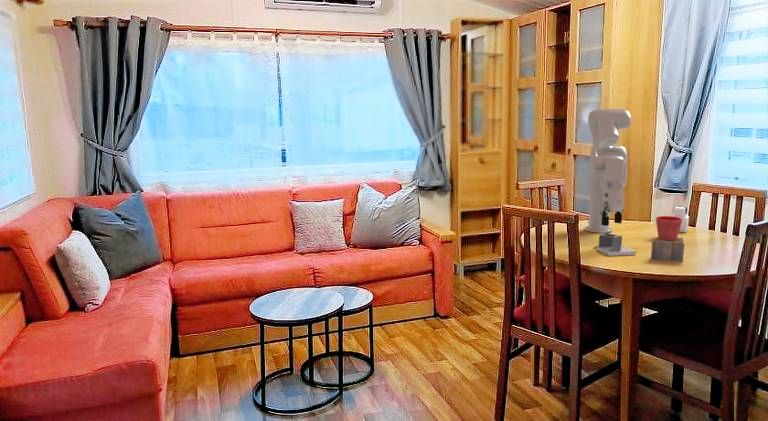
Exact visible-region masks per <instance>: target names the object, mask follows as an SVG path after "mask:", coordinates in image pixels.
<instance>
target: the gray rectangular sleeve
mask: <svg viewBox="0 0 768 421" xmlns="http://www.w3.org/2000/svg"><path fill="white" fill-rule="evenodd" d="M598 235H599V238H598V247H611V246H612V242H613V239H614V238H618V239H620V241H621V246H623V245H622V243H623V242H622V240H623V236H622V235H618V234H614V233H613V234H612V233H610V232H608V233H601V234H598Z"/></svg>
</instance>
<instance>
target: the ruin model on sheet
mask: <svg viewBox="0 0 768 421" xmlns="http://www.w3.org/2000/svg"><path fill="white" fill-rule="evenodd" d="M684 249H685V242H684V238H683V236H682V237H677V239H676V240H675V241H671V240H658V241H654V240H651V253H650V258H651V259H650V260H657V261H673V262H683V261H684V253H685V252H684V251H685V250H684Z"/></svg>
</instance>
